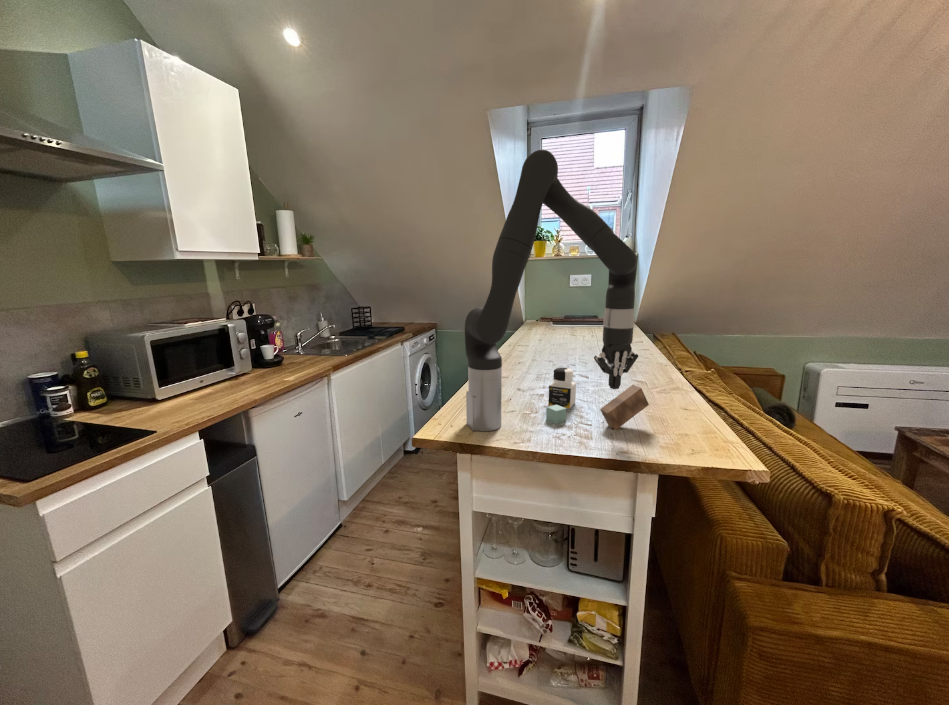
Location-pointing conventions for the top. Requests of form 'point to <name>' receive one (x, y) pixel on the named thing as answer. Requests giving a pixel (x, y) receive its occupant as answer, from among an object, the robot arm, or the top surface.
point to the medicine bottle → (562, 388)
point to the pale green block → (556, 414)
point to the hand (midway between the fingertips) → (614, 388)
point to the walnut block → (624, 407)
